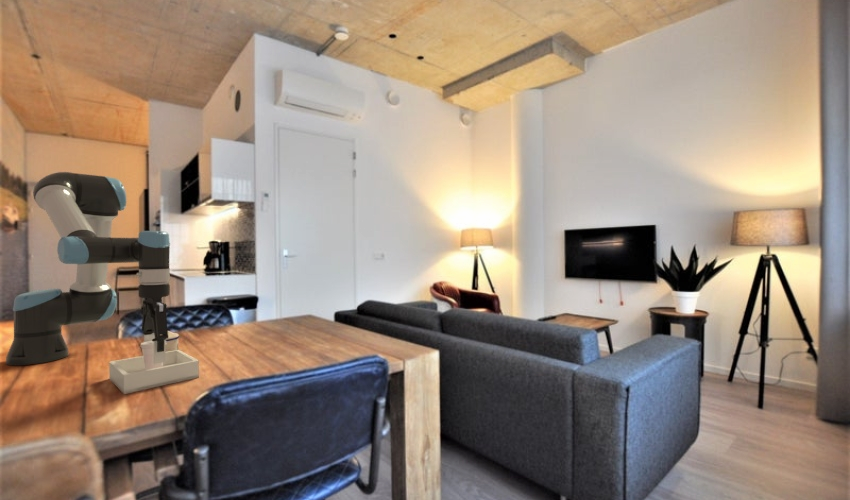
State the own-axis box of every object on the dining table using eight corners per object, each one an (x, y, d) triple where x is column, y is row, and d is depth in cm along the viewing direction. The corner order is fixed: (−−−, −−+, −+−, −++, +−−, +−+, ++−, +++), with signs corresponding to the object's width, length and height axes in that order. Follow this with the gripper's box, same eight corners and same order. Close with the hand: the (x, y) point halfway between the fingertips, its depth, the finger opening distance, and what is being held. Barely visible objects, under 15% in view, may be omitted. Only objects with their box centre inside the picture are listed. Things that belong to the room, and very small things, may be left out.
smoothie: (153, 378, 112) (152, 329, 112) (135, 378, 114) (134, 329, 114) (172, 372, 119) (171, 325, 119) (154, 371, 120) (153, 325, 120)
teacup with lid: (183, 363, 131) (183, 328, 131) (151, 369, 124) (151, 332, 124) (170, 356, 139) (170, 323, 138) (139, 362, 132) (139, 327, 131)
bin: (109, 378, 115) (109, 361, 115) (178, 364, 129) (178, 349, 129) (124, 394, 103) (124, 375, 103) (198, 377, 117) (198, 360, 117)
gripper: (129, 281, 120) (129, 354, 121) (149, 287, 106) (149, 370, 106) (158, 280, 126) (158, 349, 126) (181, 285, 111) (181, 364, 112)
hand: (154, 359), depth 116 cm, fingers open, 9 cm apart
